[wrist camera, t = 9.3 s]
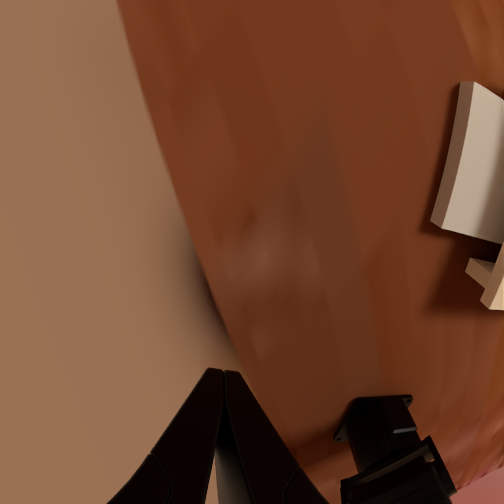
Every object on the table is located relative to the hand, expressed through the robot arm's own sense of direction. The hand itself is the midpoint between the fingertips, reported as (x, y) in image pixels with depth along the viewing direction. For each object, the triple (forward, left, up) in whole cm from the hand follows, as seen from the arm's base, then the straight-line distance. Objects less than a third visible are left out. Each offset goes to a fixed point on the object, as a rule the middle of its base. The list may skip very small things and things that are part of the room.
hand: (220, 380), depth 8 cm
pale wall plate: (+8, -20, -12) cm, 25 cm away
